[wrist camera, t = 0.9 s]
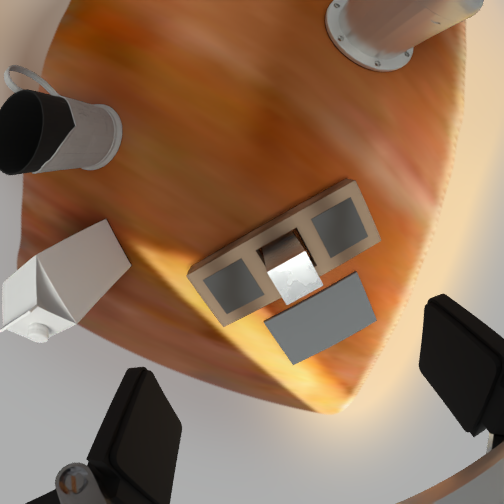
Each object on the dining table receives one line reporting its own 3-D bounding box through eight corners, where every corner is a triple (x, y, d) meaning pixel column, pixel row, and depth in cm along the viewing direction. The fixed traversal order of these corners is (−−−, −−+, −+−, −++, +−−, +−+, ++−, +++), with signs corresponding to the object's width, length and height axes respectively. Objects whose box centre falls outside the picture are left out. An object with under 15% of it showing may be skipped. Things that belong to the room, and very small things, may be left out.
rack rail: (346, 178, 32) (355, 180, 30) (371, 234, 35) (381, 240, 32) (190, 266, 35) (186, 276, 32) (224, 315, 38) (223, 327, 35)
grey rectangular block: (290, 228, 34) (305, 250, 26) (305, 255, 35) (323, 285, 27) (261, 244, 35) (266, 272, 26) (277, 271, 36) (286, 305, 27)
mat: (355, 271, 36) (356, 272, 36) (375, 319, 39) (376, 320, 38) (263, 321, 38) (264, 322, 38) (292, 363, 41) (293, 364, 40)
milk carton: (71, 241, 34) (-22, 299, 16) (107, 217, 33) (7, 271, 15) (95, 284, 36) (18, 364, 18) (132, 265, 35) (55, 350, 17)
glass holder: (83, 183, 32) (5, 202, 17) (46, 103, 28) (-28, 93, 13) (133, 143, 31) (63, 137, 16) (91, 63, 27) (24, 29, 12)
